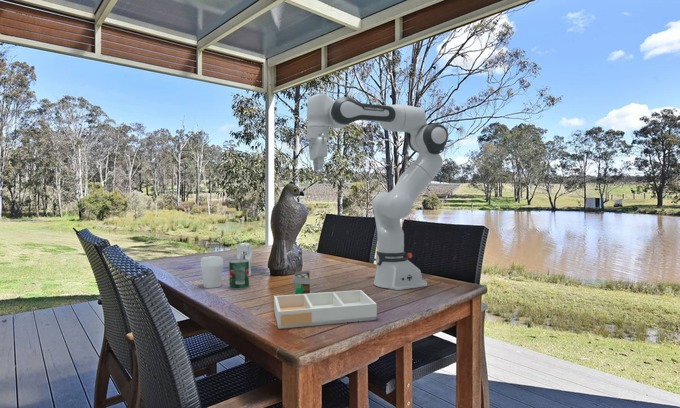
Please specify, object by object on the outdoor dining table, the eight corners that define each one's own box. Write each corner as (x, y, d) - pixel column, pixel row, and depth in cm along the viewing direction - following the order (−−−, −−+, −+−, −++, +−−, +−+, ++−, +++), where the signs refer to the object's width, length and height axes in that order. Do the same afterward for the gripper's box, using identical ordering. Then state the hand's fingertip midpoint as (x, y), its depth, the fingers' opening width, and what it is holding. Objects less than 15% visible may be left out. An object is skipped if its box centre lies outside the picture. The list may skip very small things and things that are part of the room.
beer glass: (248, 277, 172) (248, 245, 172) (234, 277, 174) (233, 244, 173) (254, 274, 179) (254, 243, 178) (241, 273, 180) (240, 242, 180)
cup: (196, 287, 155) (195, 258, 155) (211, 282, 164) (210, 255, 163) (213, 290, 152) (213, 260, 151) (228, 284, 160) (227, 256, 160)
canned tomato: (225, 287, 156) (225, 260, 156) (242, 283, 162) (242, 258, 162) (236, 290, 151) (235, 263, 150) (253, 286, 157) (252, 260, 156)
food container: (293, 297, 141) (293, 270, 141) (309, 296, 142) (309, 270, 141) (291, 307, 129) (291, 278, 129) (309, 307, 130) (309, 278, 129)
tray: (361, 304, 133) (361, 289, 133) (377, 320, 116) (377, 304, 116) (274, 310, 126) (274, 295, 125) (278, 329, 109) (278, 312, 109)
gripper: (331, 131, 140) (331, 168, 141) (321, 139, 160) (321, 171, 161) (314, 131, 139) (315, 168, 139) (306, 138, 159) (306, 171, 159)
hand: (318, 170), depth 150 cm, fingers open, 8 cm apart
